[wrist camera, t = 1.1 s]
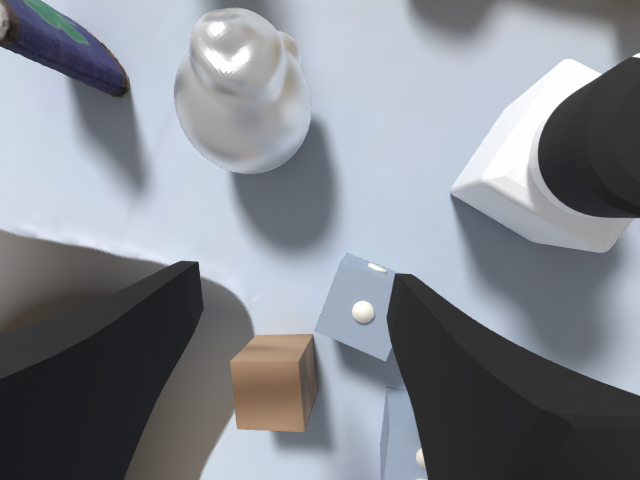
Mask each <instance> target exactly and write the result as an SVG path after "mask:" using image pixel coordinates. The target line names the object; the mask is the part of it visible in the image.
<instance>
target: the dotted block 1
mask: <svg viewBox="0 0 640 480" xmlns="http://www.w3.org/2000/svg"><path fill="white" fill-rule="evenodd" d="M395 273H398V272H395V271H393V270H390V269H387V268H385V267H382V266H380V265H377V264H375V263H372V262H369V261H367V260H364V259H362V258H359V257H357V256H354V255H351V254H349V253H347V254H346V255H345V257H344V258H343V259H342V260H341V262H340V264H339V267H338V270H337V272H336V275H335V278H334V280H333V283H332V285H331V288H330V291H329V293H328V296H327V299H326V301H325V304H324V307H323V309H322V312H321V314H320V317H319V320H318V322H317V325H316V328H315V330H314V331H316V332H319V333H321V334H323V335H326V336H328V337H330V338H332V339H335V340H337V341H339V342H342V343H344V344H346V345H349V346H351V347H353V348H356V349H358V350H360V351H362V352H365V353H367V354H369V355H372V356H374V357H376V358H379V359H381V360H383V361H385V362H386V360H387V358H388V355H389V353H390V350H391V348H392V344H391V341H390V336H389V331H388V325H387V319H386V317H387V312H388V307H389V302H390V296H391V291H392V286H393V281H394V276H395ZM399 274H400V273H399Z"/></svg>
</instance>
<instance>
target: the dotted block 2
mask: <svg viewBox="0 0 640 480" xmlns="http://www.w3.org/2000/svg"><path fill="white" fill-rule="evenodd" d="M380 457H381V480H428V477H427V472H426V467H425V462H424V457H423V453H422V448H421V443H420V438H419V434H418V430H417V425H416V421H415V417H414V412H413V409H412V405H411V402H410V398H409V395H408V392H407V391H406V390H400V389H395V388H389V387H387V390H386V398H385V407H384V416H383V424H382V433H381V442H380Z"/></svg>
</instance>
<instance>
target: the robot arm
mask: <svg viewBox="0 0 640 480" xmlns="http://www.w3.org/2000/svg"><path fill="white" fill-rule="evenodd" d="M202 311H203V299H202V290H201V281H200V272H199V262H193V261H180V262H177V263H175V264H173V265H170V266H168V267H166V268H164V269H162V270H160V271H158V272H156V273H154V274H152V275H150V276H148V277H146V278H145V279H143V280H141V281H138V282H137V283H135V284H133V285H130V286H128V287H126V288H124V289H122V290H120V291H118V292H115V293H113V294H111V295H109V296H107V297H105V298H102V299H100V300H98V301H96V302H94V303H91V304H88V305H86V306H83V307H81V308H78V309H75V310H73V311H70V312H67V313H65V314H62V315H59V316H57V317H54V318H51V319H47V320H44V321H41V322H38V323H35V324H32V325H28V326H25V327H22V328H19V329H16V330H13V331H10V332H6V333H2V334H0V480H124V477H125V475H126V472H127V469H128V467H129V464H130V462H131V459H132V457H133V454H134V452H135V450H136V447H137V445H138V442H139V440H140V437H141V435H142V433H143V430H144V428H145V426H146V423H147V421H148V419H149V416H150V414H151V412H152V410H153V407H154V405H155V403H156V401H157V398H158V397H159V395H160V392H161V391H162V389H163V387H164V385H165V383H166V382H167V380H168V378H169V376H170V374H171V373H172V371H173V369H174V368H175V366H176V364H177V362H178V360H179V359H180V357H181V355H182V353H183V351H184V350H185V348H186V346H187V344H188V342H189V341H190V339H191V337H192V335H193V333H194V331H195V329H196V327H197V324H198V321H199V319H200V316H201V313H202ZM386 319H387V325H388V331H389V336H390V341H391V344H392V348H393V351H394V354H395V357H396V360H397V363H398V366H399V369H400V372H401V375H402V378H403V381H404V383H405V386H406V389H407V392H408V395H409V398H410V402H411V405H412V409H413V412H414V417H415V421H416V425H417V430H418V434H419V438H420V443H421V448H422V453H423V457H424V462H425V467H426V472H427V477H428V480H640V396H638V395H636V394H633V393H630V392H627V391H625V390H622V389H619V388H616V387H613V386H611V385H608V384H605V383H602V382H599V381H597V380H594V379H592V378H589V377H587V376H584V375H582V374H580V373H577V372H575V371H572V370H570V369H567V368H565V367H563V366H560V365H558V364H556V363H554V362H552V361H549V360H547V359H545V358H543V357H541V356H539V355H537V354H535V353H533V352H531V351H528V350H526V349H524V348H522V347H520V346H518V345H517V344H515V343H513V342H511V341H509V340H507V339H505V338H504V337H502V336H500V335H498V334H497V333H495V332H493V331H492V330H490V329H488V328H486V327H485V326H483V325H482V324H480V323H478V322H477V321H475V320H474V319H472V318H471V317H469V316H468V315H466V314H465V313H463V312H462V311H461V310H459V309H458V308H456V307H455V306H454V305H452V304H451V303H450V302H448V301H447V300H445V299H444V298H443V297H442V296H440V295H439V294H438V293H436V292H435V291H434V290H432V289H431V288H430V287H429V286H427V285H426V284H425V283H423V282H422V281H421V280H419V279H418V278H417V277H415V276H414V275H412V274H399V273H395V276H394V281H393V286H392V291H391V296H390V302H389V307H388V312H387V317H386Z"/></svg>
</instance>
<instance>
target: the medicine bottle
mask: <svg viewBox="0 0 640 480" xmlns="http://www.w3.org/2000/svg"><path fill="white" fill-rule="evenodd" d="M450 192H451V194H452V195H453V196H455V197H457V198H459V199H460V200H462V201H464V202H465V203H467V204H469V205H470V206H472V207H474V208H475V209H477V210H479V211H480V212H482V213H484V214H485V215H487V216H489V217H491V218H492V219H494V220H496V221H497V222H499V223H501V224H502V225H504V226H506V227H507V228H509V229H511V230H512V231H514V232H516V233H517V234H519V235H521V236H523V237H524V238H526V239H528V240H529V241H531V242H534V243H540V244H546V245H553V246H559V247H565V248H572V249H578V250H584V251H591V252H597V253H602V252H607V251H608V250H610V248H611V247H612V246H613V245H614V243H615V242H616V241H617V240H618V238H619V237H620V236H621V235H622V233H623V232H624V231H625V230H626V228H627V227H628V226H629V225H630V223H631V222H632V221H633V220H634V219H635V218H640V53H639V54H637V55H634V56H632V57H630V58H628V59H627V60H625V61H623V62H621V63H620V64H618V65H616V66H615V67H613V68H612V69H610V70H608V71H607V72H605V73H604V74H600V73H598V72H596V71H594V70H592V69H590V68H588V67H586V66H584V65H582V64H580V63H578V62H576V61H574V60H572V59H566V60H563V61H562V62H560V63H559V64H558V65H557V66H556V67H554V68H553V69H552V70H551V71H550V72H548V73H547V74H546V75H545V76H544V77H542V78H541V79H540V80H539V81H538V82H536V83H535V84H534V85H533V86H532V87H530V88H529V89H528V90H527V91H526V92H524V93H523V94H522V95H521V96H520V97H518V98H517V99H516V100H515V101H514V102H512V103H511V104H510V105H509V106H508V107H506V108H505V109H504V111H503V112H502V114H501V115H500V117H499V118H498V120H497V121H496V123H495V124H494V125H493V127H492V128H491V130H490V131H489V133H488V134H487V136H486V137H485V139H484V140H483V142H482V143H481V145H480V146H479V147H478V149H477V150H476V152H475V153H474V155H473V156H472V158H471V159H470V161H469V162H468V164H467V165H466V167H465V168H464V169H463V171H462V172H461V174H460V175H459V177H458V178H457V180H456V181H455V183H454V184H453V186H452V187H451V189H450Z"/></svg>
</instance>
